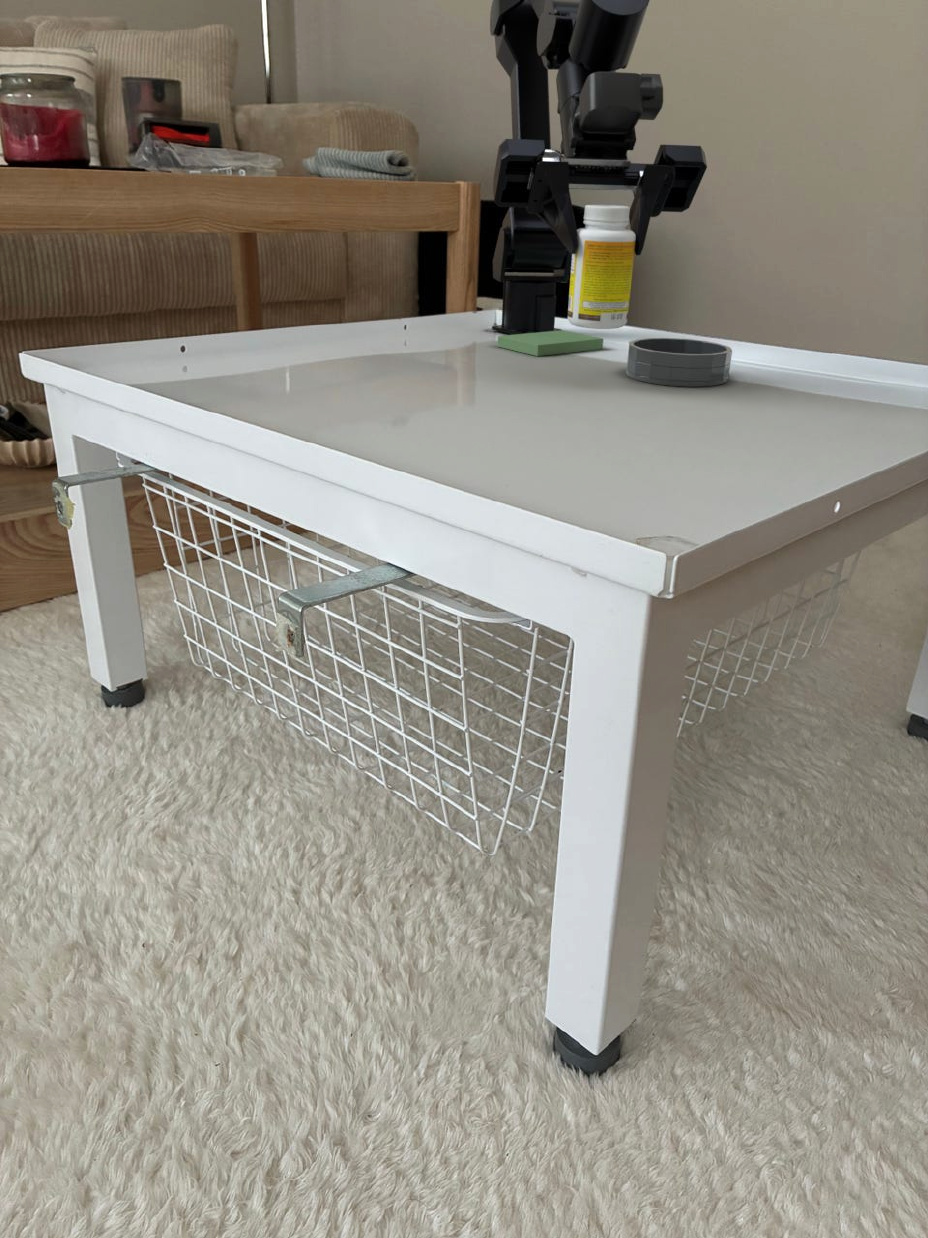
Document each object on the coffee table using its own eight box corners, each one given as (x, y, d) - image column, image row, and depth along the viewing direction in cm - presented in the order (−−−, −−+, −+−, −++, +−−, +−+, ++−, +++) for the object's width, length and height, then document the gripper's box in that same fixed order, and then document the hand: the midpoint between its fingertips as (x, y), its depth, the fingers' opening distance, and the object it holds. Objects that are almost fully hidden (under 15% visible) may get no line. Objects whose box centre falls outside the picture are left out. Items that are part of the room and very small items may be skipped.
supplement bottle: (639, 328, 87) (652, 207, 83) (590, 331, 85) (601, 207, 80) (602, 319, 92) (613, 203, 87) (555, 322, 89) (563, 203, 85)
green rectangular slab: (497, 346, 109) (497, 335, 108) (561, 340, 114) (562, 329, 114) (537, 356, 104) (538, 344, 103) (602, 349, 109) (603, 338, 109)
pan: (605, 372, 96) (608, 342, 95) (671, 364, 102) (675, 335, 101) (681, 390, 89) (685, 358, 88) (747, 380, 95) (752, 349, 93)
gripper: (503, 31, 80) (516, 179, 75) (716, 42, 82) (741, 186, 77) (488, 136, 91) (498, 272, 86) (676, 143, 93) (697, 276, 88)
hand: (606, 251), depth 84 cm, fingers closed on supplement bottle, 5 cm apart
